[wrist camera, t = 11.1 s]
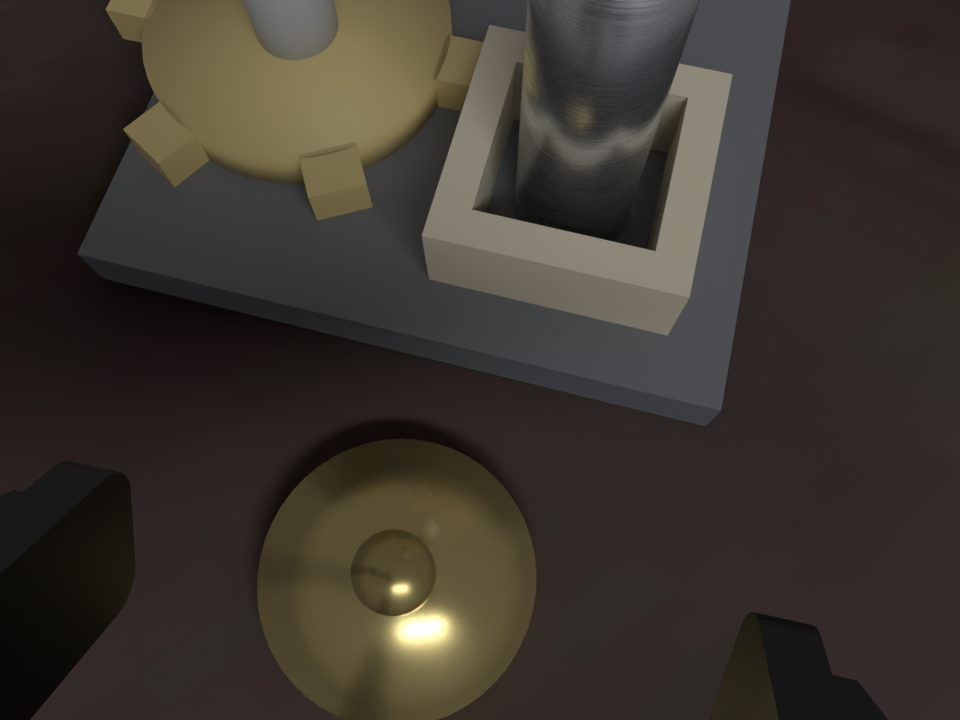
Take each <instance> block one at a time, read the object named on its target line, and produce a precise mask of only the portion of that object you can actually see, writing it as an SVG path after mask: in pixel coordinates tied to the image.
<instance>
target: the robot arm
mask: <svg viewBox="0 0 960 720" xmlns="http://www.w3.org/2000/svg"><path fill="white" fill-rule="evenodd" d="M134 575H135V551H134V535H133V520H132V505H131V490H130V484H129V480H128V478H127V477H126V476H125V475H124V474H123V473H121V472H116V471H111V470H107V469H102V468H98V467H93V466H89V465H84V464H79V463H75V462H69V461H65V462H61V463H59V464H57V465H56V466H54V467H53V468H52V469H51V470H49V471H48V472H47V473H46V474H44V475H43V476H42V477H41V478H39V479H38V480H37V481H36V482H34V483H33V484H32V485H31V486H30V487H28V488H27V489H26V490H25V491H23V492H19V491H15V490H13V491H11V492H9V493H7V494H4V495H2V496H0V720H30V719H31V718H32V717H33V715H34V714H35V713H36V712H37V711H38V709H39V708H40V707H41V706H42V705H43V703H44V702H45V701H46V700H47V699H48V697H49V696H50V695H51V694H52V693H53V691H54V690H55V689H56V688H57V687H58V685H59V684H60V683H61V682H62V681H63V679H64V678H65V677H66V676H67V675H68V673H69V672H70V671H71V670H72V669H73V667H74V666H75V665H76V664H77V663H78V661H79V660H80V659H81V658H82V657H83V656H84V654H85V653H86V652H87V651H88V650H89V648H90V647H91V646H92V645H93V644H94V642H95V641H96V640H97V639H98V638H99V636H100V635H101V634H102V633H103V632H104V630H105V629H106V628H107V627H108V626H109V624H110V623H111V622H112V621H113V620H114V618H115V617H116V616H117V615H118V613H119V612H120V611H121V609H122V607H123V606H124V604H125V602H126V600H127V598H128V596H129V593H130V590H131V588H132V584H133V580H134ZM710 720H888V719H887V718H886V717H885V715H884V714H883V713H882V711H881V710H880V709H879V708H878V706H877V705H876V704H875V702H874V701H873V700H872V699H871V697H870V696H869V695H868V693H867V692H866V691H865V690H864V688H863V687H862V686H861V685H860V683H859V682H858V681H857V680H852V679H848V678H843V677H839V676H834V675H832V672H831V669H830V665H829V662H828V659H827V655H826V652H825V649H824V646H823V642H822V639H821V636H820V633H819V631H818V629H817V628H816V627H815V626H813V625H810V624H805V623H800V622H796V621H791V620H787V619H782V618H778V617H773V616H768V615H764V614H759V613H755V612H750V613H748V614H747V616H746V617H745V619H744V621H743V623H742V625H741V628H740V631H739V634H738V636H737V639H736V642H735V645H734V648H733V650H732V653H731V656H730V659H729V662H728V664H727V667H726V670H725V673H724V676H723V678H722V681H721V684H720V687H719V690H718V692H717V695H716V698H715V701H714V705H713V709H712V713H711V719H710Z"/></svg>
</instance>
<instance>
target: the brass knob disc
mask: <svg viewBox="0 0 960 720" xmlns="http://www.w3.org/2000/svg"><path fill="white" fill-rule="evenodd" d="M535 594H536V564H535V554H534V550H533V545H532V541H531V537H530V534H529V531H528V528H527V526H526V523H525V520H524V518H523V516H522V514H521V512H520V510H519V508H518V507H517V505H516V503H515V501H514V500H513V499H512V497H511V496H510V494H509V493H508V491H507V490H506V489H505V487H504V486H503V485H502V484H501V483H500V482H499V481H498V480H497V479H496V478H495V477H494V475H492V474H491V473H490V472H489V471H488V470H486V469H485V468H484V467H483V466H482V465H480V464H479V463H477V462H476V461H474V460H473V459H471V458H469V457H468V456H466V455H464V454H462V453H460V452H458V451H456V450H454V449H452V448H449V447H446V446H443V445H440V444H437V443H433V442H428V441H422V440H416V439H390V440H380V441H375V442H371V443H366V444H363V445H360V446H357V447H354V448H351V449H348V450H346V451H344V452H342V453H340V454H338V455H336V456H334V457H332V458H331V459H329V460H328V461H326V462H325V463H323V464H321V465H320V466H318V467H317V468H316V469H315V470H314V471H312V472H311V473H310V474H309V475H308V476H306V477H305V478H304V479H303V480H302V481H301V482H300V483H299V484H298V486H297V487H296V488H295V489H294V490H293V491H292V492H291V493H290V495H289V496H288V498H287V499H286V500H285V502H284V503H283V504H282V506H281V507H280V509H279V511H278V513H277V515H276V516H275V518H274V520H273V522H272V524H271V526H270V529H269V531H268V534H267V536H266V539H265V542H264V545H263V549H262V553H261V556H260V562H259V569H258V576H257V599H258V607H259V615H260V619H261V623H262V627H263V631H264V635H265V637H266V640H267V642H268V645H269V647H270V650H271V652H272V654H273V655H274V657H275V659H276V661H277V662H278V664H279V666H280V668H281V669H282V670H283V672H284V673H285V674H286V676H287V677H288V678H289V679H290V681H291V682H292V683H293V684H294V685H295V686H296V687H297V688H298V689H299V690H300V691H301V692H302V693H303V694H304V695H305V696H306V697H308V698H309V699H310V700H312V701H313V702H314V703H316V704H317V705H318V706H320V707H321V708H323V709H325V710H327V711H329V712H330V713H332V714H334V715H336V716H338V717H341V718H344V719H346V720H438V719H441V718H443V717H446V716H448V715H451V714H453V713H454V712H456V711H458V710H460V709H462V708H463V707H465V706H467V705H469V704H470V703H471V702H473V701H474V700H475V699H477V698H478V697H479V696H481V695H482V694H483V693H484V692H485V691H486V690H487V689H488V688H490V687H491V686H492V685H493V684H494V683H495V682H496V681H497V680H498V678H499V677H500V676H501V675H502V673H503V672H504V671H505V670H506V668H507V667H508V666H509V664H510V663H511V661H512V660H513V658H514V656H515V655H516V653H517V651H518V649H519V648H520V646H521V643H522V641H523V639H524V636H525V634H526V632H527V630H528V626H529V623H530V619H531V616H532V612H533V607H534V601H535Z"/></svg>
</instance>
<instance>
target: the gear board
mask: <svg viewBox="0 0 960 720" xmlns="http://www.w3.org/2000/svg"><path fill="white" fill-rule="evenodd" d="M790 1H791V0H700V2H699V5H698V8H697V11H696V14H695V17H694V20H693V23H692V26H691V29H690V32H689V35H688V38H687V41H686V44H685V47H684V50H683V53H682V56H681V59H680V62H679V65H678V68H677V71H676V74H675V77H674V80H673V83H672V86H671V89H670V92H669V95H668V98H667V101H666V104H665V107H664V110H663V113H662V116H661V119H660V122H659V125H658V128H657V131H656V134H655V137H654V140H653V143H652V146H651V149H650V152H649V155H648V158H647V161H646V164H645V167H644V170H643V173H642V176H641V179H640V182H639V185H638V188H637V191H636V194H635V197H634V200H633V203H632V206H631V209H630V212H629V215H628V218H627V221H626V224H625V226H624V229H623V231H622V232H621V234H620V235H619V237H618V238H617V239H616V240H615V241H614V242H613V241H608V240H604V239H599V238H595V237H591V236H586V235H582V234H577V233H573V232H569V231H564V230H560V229H555V228H551V227H546V226H542V225H538V224H533V223H529V222H524V221H520V220H516V216H515V208H514V206H515V189H516V173H517V158H518V142H519V126H520V110H521V95H522V79H523V63H524V47H525V32H526V16H527V0H110V2H109V4H108V6H107V8H106V11H107V13H108V15H109V16H110V18H111V20H112V21H113V23H114V25H115V26H116V28H117V29H118V31H119V33H120V34H121V36H122V38H123V39H127V40H132V41H137V42H141V43H142V53H143V62H144V66H145V71H146V75H147V78H148V80H149V82H150V85H151V87H152V89H153V92H154V93H153V95H152V98H151V100H150V102H149V104H148V106H147V108H146V110H145V112H144V114H142V115H141V116H140V117H138V118H137V119H136V120H135V121H133V122H132V123H131V124H129V125H128V126H127V127H125V128H124V129H123V130H124V131H125V133H126V134H127V135H128V137H129V138H130V140H131V142H130V144H129V146H128V148H127V150H126V152H125V154H124V156H123V159H122V161H121V163H120V165H119V167H118V169H117V171H116V173H115V175H114V177H113V180H112V182H111V184H110V186H109V188H108V190H107V192H106V194H105V196H104V199H103V201H102V203H101V205H100V207H99V209H98V211H97V213H96V215H95V217H94V220H93V222H92V224H91V226H90V228H89V230H88V232H87V234H86V236H85V238H84V241H83V243H82V245H81V247H80V249H79V251H78V253H77V254H78V255H79V256H80V257H81V258H82V259H83V260H84V261H85V262H86V263H87V264H88V265H89V266H90V267H91V268H93V269H94V270H95V271H96V272H97V273H98V274H99V275H100V276H101V277H102V278H103V279H107V280H111V281H115V282H119V283H123V284H127V285H131V286H135V287H139V288H144V289H148V290H152V291H156V292H160V293H164V294H168V295H172V296H176V297H180V298H184V299H188V300H192V301H196V302H200V303H205V304H209V305H213V306H217V307H221V308H225V309H229V310H233V311H237V312H241V313H245V314H249V315H253V316H257V317H262V318H266V319H270V320H274V321H278V322H282V323H286V324H290V325H294V326H298V327H302V328H306V329H310V330H314V331H318V332H323V333H327V334H331V335H335V336H339V337H343V338H347V339H351V340H355V341H359V342H363V343H367V344H371V345H375V346H379V347H384V348H388V349H392V350H396V351H400V352H404V353H408V354H412V355H416V356H420V357H424V358H428V359H432V360H436V361H440V362H445V363H449V364H453V365H457V366H461V367H465V368H469V369H473V370H477V371H481V372H485V373H489V374H493V375H497V376H502V377H506V378H510V379H514V380H518V381H522V382H526V383H530V384H534V385H538V386H542V387H546V388H550V389H554V390H558V391H563V392H567V393H571V394H575V395H579V396H583V397H587V398H591V399H595V400H599V401H603V402H607V403H611V404H615V405H619V406H624V407H628V408H632V409H636V410H640V411H644V412H648V413H652V414H656V415H660V416H664V417H668V418H672V419H676V420H681V421H685V422H689V423H693V424H697V425H701V426H706V425H707V424H708V423H709V422H710V421H711V420H712V419H713V418H714V417H715V416H716V415H717V414H718V413H719V412H720V411H721V408H722V402H723V396H724V390H725V384H726V378H727V372H728V367H729V361H730V355H731V349H732V343H733V337H734V331H735V325H736V319H737V313H738V308H739V302H740V296H741V290H742V284H743V278H744V272H745V266H746V260H747V255H748V249H749V243H750V237H751V231H752V225H753V219H754V213H755V207H756V202H757V196H758V190H759V184H760V178H761V172H762V166H763V160H764V154H765V149H766V143H767V137H768V131H769V125H770V119H771V113H772V107H773V101H774V96H775V90H776V84H777V78H778V72H779V66H780V60H781V54H782V48H783V43H784V37H785V31H786V25H787V19H788V13H789V7H790Z"/></svg>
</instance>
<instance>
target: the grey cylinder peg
mask: <svg viewBox="0 0 960 720" xmlns="http://www.w3.org/2000/svg"><path fill="white" fill-rule="evenodd" d="M699 2H700V0H527V16H526V32H525V47H524V63H523V79H522V95H521V110H520V126H519V142H518V158H517V173H516V189H515V206H514V208H515V216H516V220H520V221H524V222H529V223H533V224H538V225H542V226H546V227H551V228H555V229H560V230H564V231H569V232H573V233H577V234H582V235H586V236H591V237H595V238H599V239H604V240H608V241H613V242H614V241H615V240H616V239H617V238H618V237H619V235H620V234H621V232H622V231H623V229H624V226H625V224H626V221H627V218H628V215H629V212H630V209H631V206H632V203H633V200H634V197H635V194H636V191H637V188H638V185H639V182H640V179H641V176H642V173H643V170H644V167H645V164H646V161H647V158H648V155H649V152H650V149H651V146H652V143H653V140H654V137H655V134H656V131H657V128H658V125H659V122H660V119H661V116H662V113H663V110H664V107H665V104H666V101H667V98H668V95H669V92H670V89H671V86H672V83H673V80H674V77H675V74H676V71H677V68H678V65H679V62H680V59H681V56H682V53H683V50H684V47H685V44H686V41H687V38H688V35H689V32H690V29H691V26H692V23H693V20H694V17H695V14H696V11H697V8H698V5H699Z"/></svg>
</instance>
